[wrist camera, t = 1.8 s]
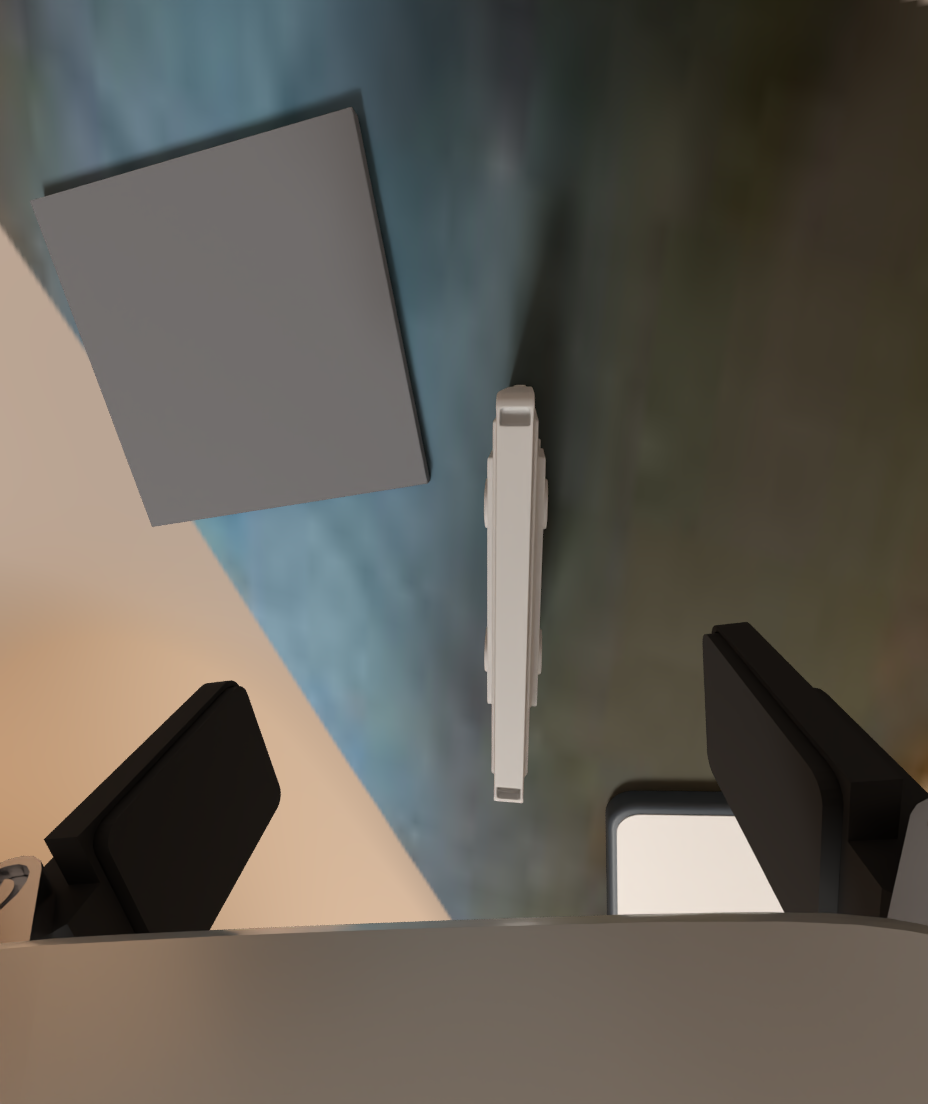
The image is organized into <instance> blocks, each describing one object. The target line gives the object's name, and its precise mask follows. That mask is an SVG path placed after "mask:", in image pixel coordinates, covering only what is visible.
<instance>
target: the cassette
mask: <svg viewBox="0 0 928 1104" xmlns="http://www.w3.org/2000/svg"><path fill="white" fill-rule="evenodd" d="M538 426H539V422H538V417H537V413H536V409H535V394H534V391H533V388H532V387H527V386H526V385H514V387H508V388H506V389H504V390H501V391H499V392H498V393H497V398H496V418H495V419H494V421H493V449H492V451H491V453H490V455H489V457H488V463H487V479H486V483H485V494H484V521H485V527H486V528H487V628H486V635H485V651H484V665H485V671H487V701H488V703H492V772H493V773H494V800H495V801H505V802H517V803H523V787H524V777H525V776H526V775H527V772H528V741H529V710H530V707H531V706H536V705H537V682H538V674H540V673H541V663H542V630H541V629H539V628H540V601H541V574H542V547H543V529H546V526H547V510H548V480H547V479H545V465H546V459H545V455H544V450H543V449H542V448H540V446H541V440H540V439H539V438H538Z"/></svg>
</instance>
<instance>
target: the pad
mask: <svg viewBox="0 0 928 1104" xmlns="http://www.w3.org/2000/svg"><path fill="white" fill-rule="evenodd" d="M30 202H31V205H32V207H33V210H34V213H35V215H36V218H37V221H38V223H39V226H40V229H41V231H42V234H43V237H44V239H45V242H46V245H47V247H48V250H49V253H50V255H51V258H52V261H53V263H54V266H55V269H56V271H57V274H58V277H59V279H60V282H61V285H62V287H63V290H64V293H65V295H66V298H67V301H68V303H69V306H70V309H71V311H72V314H73V317H74V320H75V322H76V325H77V328H78V330H79V333H80V336H81V338H82V341H83V344H84V346H85V349H86V352H87V354H88V357H89V360H90V362H91V365H92V368H93V370H94V373H95V376H96V378H97V381H98V384H99V386H100V389H101V392H102V394H103V397H104V399H105V402H106V405H107V407H108V410H109V413H110V416H111V418H112V421H113V424H114V426H115V429H116V432H117V434H118V437H119V440H120V442H121V445H122V448H123V450H124V453H125V456H126V458H127V461H128V464H129V466H130V469H131V472H132V474H133V477H134V479H135V482H136V485H137V488H138V490H139V493H140V496H141V498H142V501H143V504H144V506H145V509H146V512H147V514H148V517H149V520H150V522H151V525H152V527H154V526H161V525H167V524H173V523H180V522H186V521H192V520H199V519H205V518H211V517H218V516H224V515H230V514H237V513H243V512H249V511H256V510H262V509H268V508H275V507H281V506H287V505H294V504H300V503H306V502H313V501H319V500H325V499H332V498H338V497H345V496H351V495H357V494H364V493H370V492H376V491H383V490H389V489H395V488H402V487H408V486H414V485H421V484H427V483H428V482H429V481H430V477H429V472H428V467H427V462H426V457H425V452H424V447H423V442H422V437H421V431H420V426H419V421H418V416H417V411H416V406H415V401H414V396H413V391H412V386H411V381H410V376H409V371H408V366H407V361H406V356H405V351H404V346H403V341H402V336H401V331H400V326H399V321H398V316H397V311H396V306H395V301H394V296H393V291H392V286H391V281H390V276H389V271H388V266H387V261H386V256H385V251H384V246H383V241H382V235H381V230H380V225H379V220H378V215H377V210H376V205H375V200H374V195H373V190H372V185H371V180H370V175H369V170H368V165H367V160H366V155H365V150H364V145H363V140H362V135H361V130H360V125H359V120H358V116H357V114H356V113H355V111H354V110H353V108H352V107H349V108H346V109H342V110H339V111H335V112H332V113H328V114H325V115H322V116H318V117H315V118H311V119H308V120H305V121H301V122H298V123H294V124H291V125H287V126H284V127H281V128H277V129H274V130H270V131H267V132H264V133H260V134H257V135H253V136H250V137H247V138H243V139H240V140H236V141H233V142H229V143H226V144H223V145H219V146H216V147H212V148H209V149H206V150H202V151H199V152H195V153H192V154H188V155H185V156H182V157H178V158H175V159H171V160H168V161H165V162H161V163H158V164H154V165H151V166H148V167H144V168H141V169H137V170H134V171H130V172H127V173H124V174H120V175H117V176H113V177H110V178H107V179H103V180H100V181H96V182H93V183H89V184H86V185H83V186H79V187H76V188H72V189H69V190H66V191H62V192H59V193H55V194H52V195H49V196H45V197H42V198H38V199H35V200H31V201H30Z"/></svg>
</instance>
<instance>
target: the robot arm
mask: <svg viewBox="0 0 928 1104" xmlns="http://www.w3.org/2000/svg"><path fill="white" fill-rule="evenodd" d="M703 664H704V687H705V711H706V734H707V754H708V760H709V764H710V767H711V770H712V773H713V775H714V777H715V779H716V781H717V783H718V785H719V787H720V789H721V791H722V793H723V795H724V796H725V798H726V800H727V802H728V804H729V806H730V808H731V810H732V812H733V814H734V816H735V818H736V820H737V822H738V824H739V826H740V828H741V830H742V831H743V833H744V835H745V837H746V839H747V841H748V843H749V845H750V847H751V849H752V851H753V853H754V855H755V857H756V859H757V861H758V863H759V864H760V866H761V868H762V870H763V872H764V874H765V876H766V878H767V880H768V882H769V884H770V886H771V888H772V890H773V892H774V894H775V896H776V898H777V899H778V901H779V903H780V905H781V907H782V909H783V911H784V913H783V912H714V913H668V914H623V915H593V916H563V917H533V918H504V919H474V920H447V921H422V922H421V921H420V922H397V923H369V924H345V925H320V926H295V927H273V928H272V927H271V928H249V929H228V930H210V928H211V926H212V925H213V923H214V921H215V919H216V917H217V916H218V914H219V912H220V910H221V908H222V907H223V905H224V903H225V901H226V899H227V898H228V896H229V894H230V892H231V890H232V889H233V887H234V885H235V883H236V881H237V880H238V878H239V876H240V874H241V872H242V871H243V869H244V867H245V865H246V863H247V861H248V859H249V858H250V856H251V854H252V853H253V851H254V849H255V847H256V845H257V843H258V842H259V840H260V838H261V836H262V835H263V833H264V831H265V829H266V827H267V825H268V824H269V822H270V820H271V818H272V817H273V815H274V813H275V811H276V809H277V807H278V805H279V802H280V796H281V794H280V793H281V792H280V786H279V783H278V780H277V778H276V775H275V772H274V769H273V766H272V763H271V760H270V757H269V754H268V751H267V749H266V746H265V743H264V740H263V737H262V734H261V731H260V729H259V726H258V723H257V720H256V717H255V714H254V711H253V708H252V706H251V703H250V700H249V697H248V694H247V692H246V690H245V689H244V688H243V687H241V686H239V685H238V684H237V683H236V682H234V681H223V682H214V683H207V684H204V685H203V686H201V687H200V688H199V689H198V690H197V691H196V692H195V693H194V694H193V695H192V696H191V697H190V698H189V699H188V700H187V701H186V702H185V703H184V704H183V705H182V706H181V707H180V708H179V709H178V710H177V711H176V712H175V713H173V714H172V715H171V716H170V717H169V718H168V719H167V720H166V721H165V722H164V723H163V724H162V725H161V726H160V727H159V728H158V729H157V730H156V731H155V732H154V733H153V734H152V735H151V736H150V737H149V738H148V739H147V740H146V741H145V742H144V743H143V744H142V745H141V746H140V747H139V748H137V750H135V751H134V752H133V753H132V754H131V755H130V756H129V757H128V758H127V759H126V760H125V761H124V762H123V763H122V764H121V765H120V766H119V767H118V768H117V769H116V770H115V771H114V772H113V773H112V774H111V775H110V776H109V777H108V778H107V779H106V780H105V781H104V782H102V784H100V785H99V786H98V787H97V788H96V789H95V790H94V791H93V792H92V793H91V794H90V795H89V796H88V797H87V798H86V799H85V800H84V801H83V802H82V803H81V804H80V805H79V806H78V807H77V808H76V809H75V810H74V811H73V812H72V813H71V814H70V815H69V816H68V817H67V818H65V820H63V821H62V822H61V823H60V824H59V825H58V826H57V827H56V828H55V829H54V830H53V831H52V832H51V833H50V834H49V835H48V836H47V837H46V838H45V839H44V840H45V842H46V844H47V846H48V848H49V850H50V852H51V854H52V855H53V858H52V859H51V860H50V861H49V862H48V863H47V864H46V865H45V867H44V866H43V864H42V862H41V861H40V860H39V859H37V858H36V857H34V856H21V857H17V858H13V859H8V860H6V861H4V862H1V863H0V1104H928V793H927V792H926V791H925V790H924V789H923V788H922V787H921V786H920V785H919V784H918V783H917V782H916V781H915V780H914V779H913V778H912V777H911V776H910V775H909V774H908V773H907V772H906V771H905V770H904V769H903V768H902V767H901V766H900V765H899V764H898V763H897V762H896V761H895V760H894V759H893V758H892V757H891V756H889V755H888V754H887V753H886V752H885V751H884V750H883V749H882V748H881V747H880V746H879V745H878V744H877V743H876V742H875V741H874V740H873V739H872V738H871V737H870V736H869V735H868V734H867V733H866V732H865V731H864V730H863V729H862V728H861V727H860V726H859V725H858V724H857V723H856V722H855V721H854V720H853V719H852V718H851V717H850V716H849V715H848V714H847V713H846V712H845V711H844V710H843V709H842V708H841V707H840V706H839V705H838V704H837V703H836V702H835V701H834V700H833V699H832V698H831V697H830V696H829V695H828V694H826V693H825V692H824V691H822V690H821V689H818V688H813V687H812V686H811V685H810V684H809V683H808V682H807V681H806V680H805V679H804V678H803V677H802V676H801V675H800V674H799V673H798V672H797V671H796V670H795V669H794V668H793V667H792V666H791V665H790V664H789V663H788V662H787V661H786V660H785V659H784V658H783V657H782V656H781V655H780V654H779V653H778V652H777V651H776V650H775V649H774V648H773V647H772V646H771V645H770V644H769V643H768V642H767V641H766V640H765V639H764V638H763V637H762V636H761V635H760V634H759V633H758V632H757V631H756V630H755V629H754V628H753V627H752V626H751V625H750V624H749V623H748V622H742V623H733V624H725V625H716V626H714V627H713V629H712V634H705V635H704V636H703Z"/></svg>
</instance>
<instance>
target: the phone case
mask: <svg viewBox="0 0 928 1104" xmlns="http://www.w3.org/2000/svg"><path fill="white" fill-rule="evenodd" d="M606 874H607V915H623V914H668V913H714V912H783V913H784V911H783V909H782V907H781V905H780V903H779V901H778V899H777V898H776V896H775V894H774V892H773V890H772V888H771V886H770V884H769V882H768V880H767V878H766V876H765V874H764V872H763V870H762V868H761V866H760V864H759V863H758V861H757V859H756V857H755V855H754V853H753V851H752V849H751V847H750V845H749V843H748V841H747V839H746V837H745V835H744V833H743V831H742V830H741V828H740V826H739V824H738V822H737V820H736V818H735V816H734V814H733V812H732V810H731V808H730V806H729V804H728V802H727V800H726V798H725V796H724V795H723V793H722V792H708V791H627V792H623V793H620V794H618V795H616V796H615V797H613V798H612V799H611V800H610V802H609V803H608V805H607V807H606Z"/></svg>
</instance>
